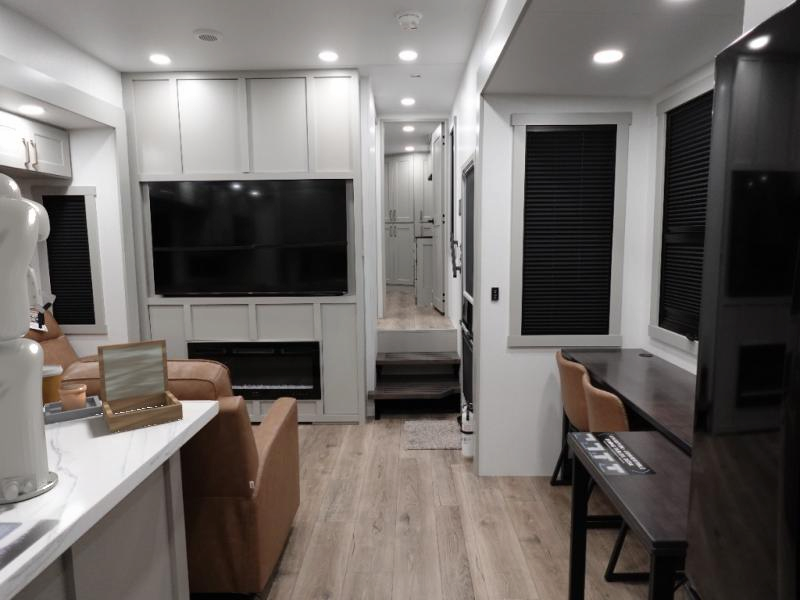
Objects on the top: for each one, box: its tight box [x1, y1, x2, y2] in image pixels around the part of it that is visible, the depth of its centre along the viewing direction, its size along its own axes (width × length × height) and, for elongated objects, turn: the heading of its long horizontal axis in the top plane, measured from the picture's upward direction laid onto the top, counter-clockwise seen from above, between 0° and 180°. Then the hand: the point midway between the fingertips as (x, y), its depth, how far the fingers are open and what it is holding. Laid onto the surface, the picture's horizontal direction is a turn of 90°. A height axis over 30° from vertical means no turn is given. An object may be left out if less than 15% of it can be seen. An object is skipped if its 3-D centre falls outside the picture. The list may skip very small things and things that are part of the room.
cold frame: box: [97, 338, 184, 434], centre depth 146 cm, size 19×18×21 cm
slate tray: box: [44, 395, 102, 425], centre depth 152 cm, size 14×14×2 cm
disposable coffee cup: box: [42, 364, 64, 406], centre depth 161 cm, size 10×10×12 cm
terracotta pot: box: [58, 383, 88, 412], centre depth 152 cm, size 7×7×7 cm
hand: (17, 330), depth 128 cm, fingers open, 9 cm apart
